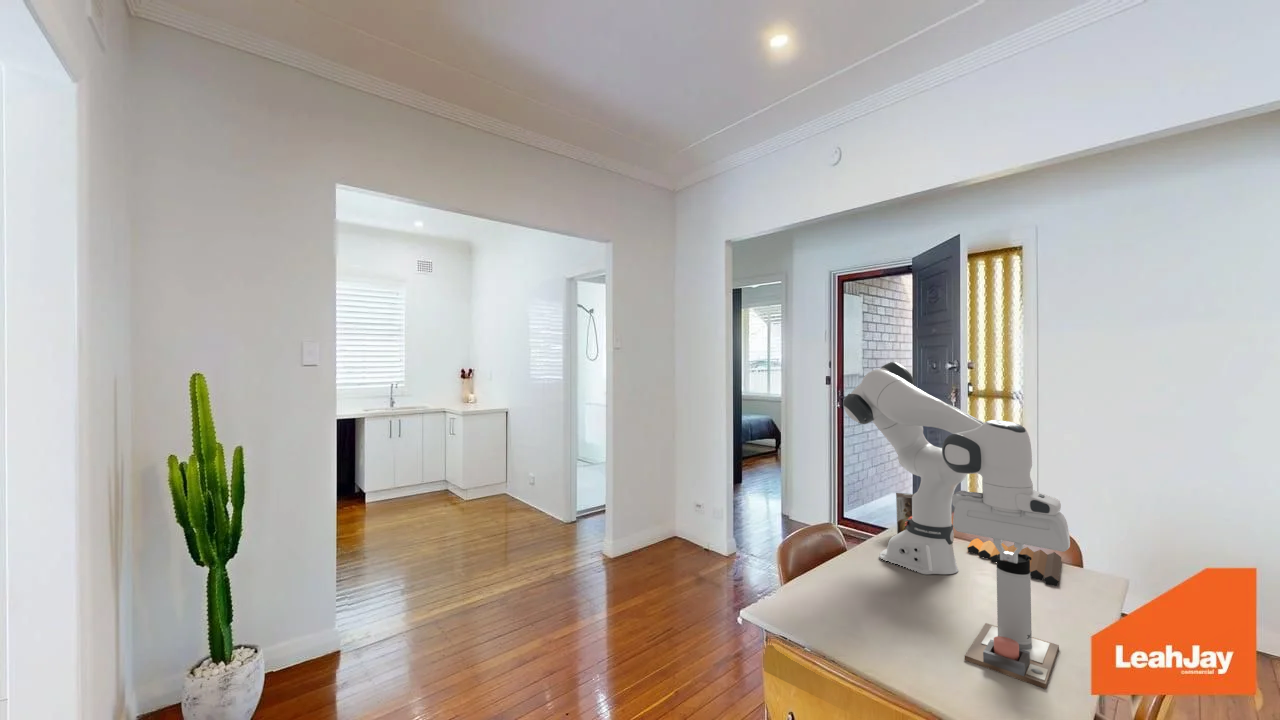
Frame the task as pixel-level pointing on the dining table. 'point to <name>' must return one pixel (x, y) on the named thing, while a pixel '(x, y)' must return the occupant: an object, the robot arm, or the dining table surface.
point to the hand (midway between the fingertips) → (1008, 561)
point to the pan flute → (1039, 560)
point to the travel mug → (1014, 600)
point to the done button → (1006, 647)
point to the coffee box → (903, 510)
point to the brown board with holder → (1029, 668)
